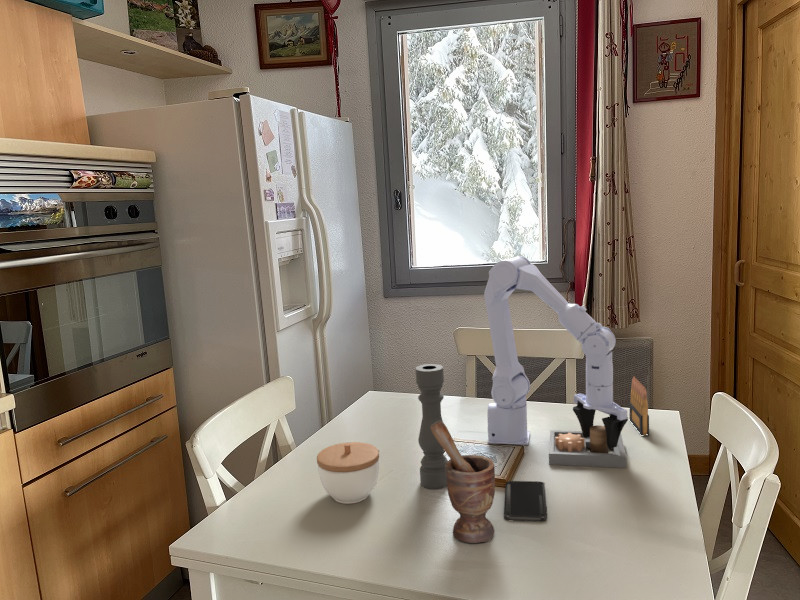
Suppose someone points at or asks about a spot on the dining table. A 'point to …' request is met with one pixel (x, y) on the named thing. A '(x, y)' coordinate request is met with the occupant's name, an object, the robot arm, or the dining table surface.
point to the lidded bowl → (349, 471)
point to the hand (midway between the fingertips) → (599, 441)
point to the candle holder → (430, 397)
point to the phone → (525, 501)
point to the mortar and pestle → (468, 488)
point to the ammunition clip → (639, 407)
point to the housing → (582, 451)
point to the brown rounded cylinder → (598, 439)
